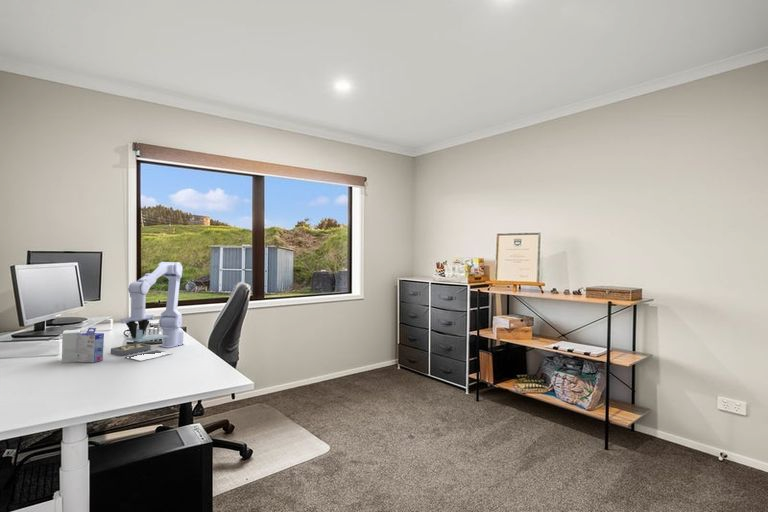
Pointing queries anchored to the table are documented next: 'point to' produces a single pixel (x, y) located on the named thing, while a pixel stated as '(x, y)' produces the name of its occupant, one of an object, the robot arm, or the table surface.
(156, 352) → the mat
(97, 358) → the ink cartridge box
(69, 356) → the small box
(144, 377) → the table surface
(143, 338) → the lid
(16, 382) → the table surface
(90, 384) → the table surface
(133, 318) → the robot arm
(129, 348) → the tub
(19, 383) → the table surface
